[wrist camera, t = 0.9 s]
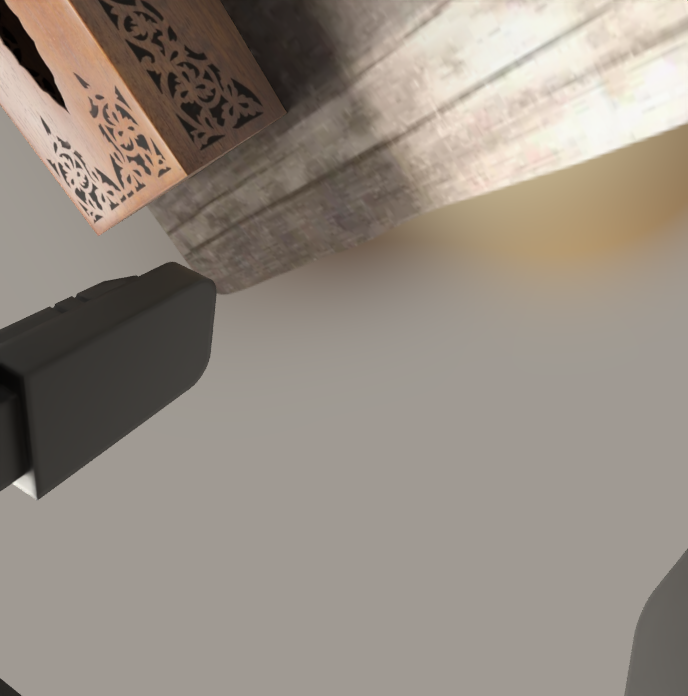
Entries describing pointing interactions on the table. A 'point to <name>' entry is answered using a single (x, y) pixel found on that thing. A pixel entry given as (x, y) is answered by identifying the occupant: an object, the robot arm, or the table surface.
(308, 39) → the table surface
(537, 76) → the table surface
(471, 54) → the table surface
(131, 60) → the tissue box cover
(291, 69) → the table surface
